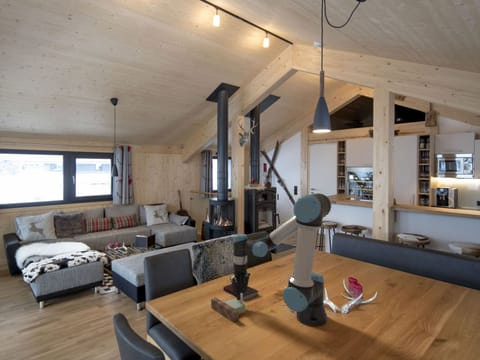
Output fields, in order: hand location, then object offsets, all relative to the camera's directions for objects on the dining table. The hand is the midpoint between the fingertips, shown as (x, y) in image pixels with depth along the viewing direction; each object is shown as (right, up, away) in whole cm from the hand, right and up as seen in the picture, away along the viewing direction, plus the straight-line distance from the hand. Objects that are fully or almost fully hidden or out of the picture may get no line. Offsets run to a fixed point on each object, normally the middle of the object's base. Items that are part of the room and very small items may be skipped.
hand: (240, 305), depth 161 cm
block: (-4, -2, -3) cm, 5 cm away
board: (-8, -2, -7) cm, 11 cm away
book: (0, -1, +20) cm, 20 cm away
